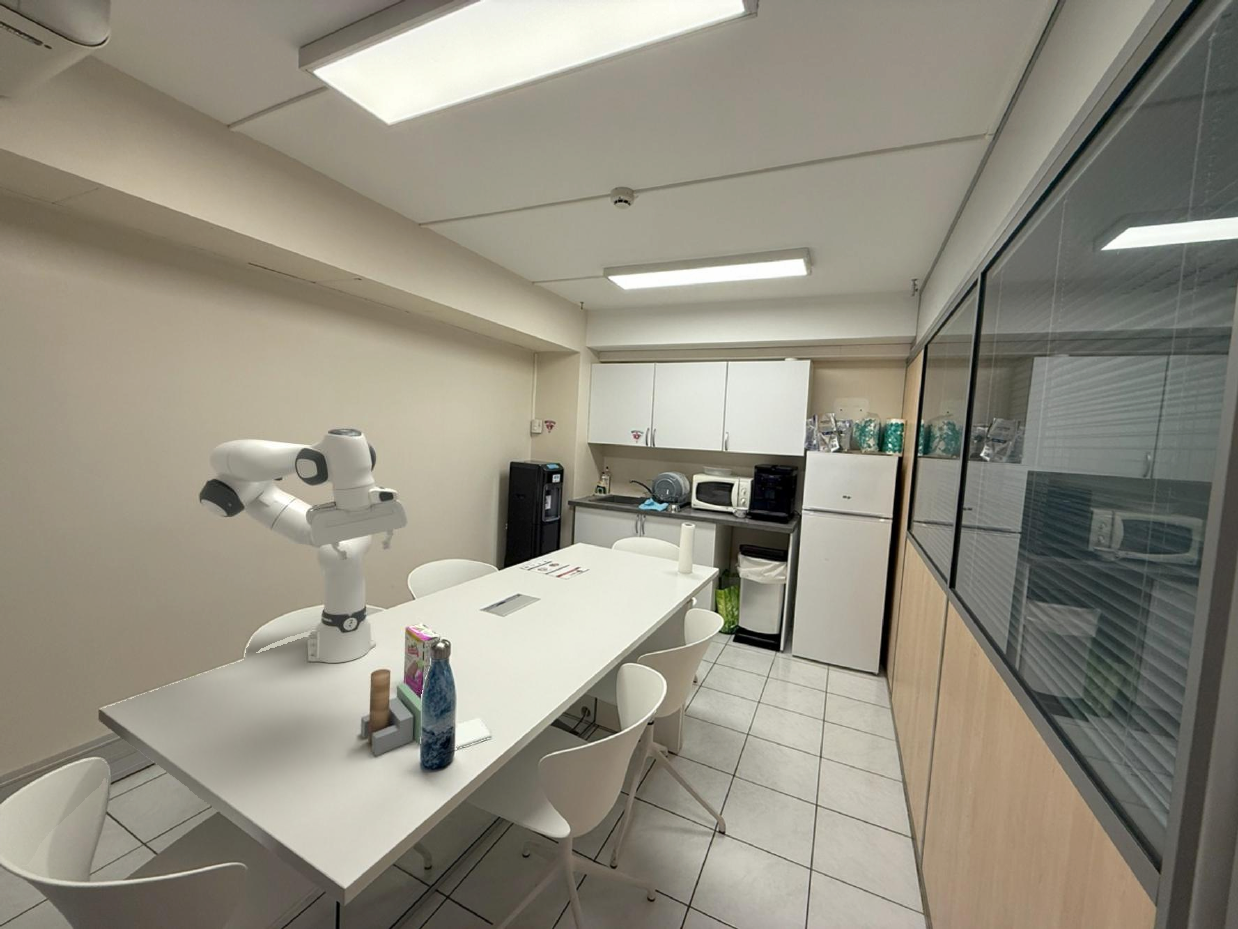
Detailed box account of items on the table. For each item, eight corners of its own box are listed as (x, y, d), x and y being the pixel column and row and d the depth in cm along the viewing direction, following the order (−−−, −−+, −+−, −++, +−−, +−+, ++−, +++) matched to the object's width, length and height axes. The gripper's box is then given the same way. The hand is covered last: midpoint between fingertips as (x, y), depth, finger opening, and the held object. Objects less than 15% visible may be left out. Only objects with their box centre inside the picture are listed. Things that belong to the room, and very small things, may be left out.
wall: (395, 716, 121) (397, 685, 120) (404, 713, 122) (405, 683, 122) (418, 744, 111) (420, 711, 110) (427, 741, 112) (428, 708, 112)
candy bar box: (402, 683, 136) (404, 626, 135) (419, 677, 140) (421, 622, 139) (421, 700, 129) (423, 640, 128) (438, 693, 132) (441, 635, 131)
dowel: (366, 739, 112) (368, 672, 110) (384, 733, 114) (386, 667, 113) (371, 748, 109) (374, 679, 108) (390, 741, 111) (393, 674, 110)
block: (360, 733, 113) (361, 708, 113) (396, 720, 119) (397, 697, 119) (375, 755, 106) (376, 729, 106) (412, 741, 112) (413, 716, 112)
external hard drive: (491, 741, 115) (437, 759, 108) (478, 723, 122) (427, 738, 114) (491, 734, 115) (437, 752, 108) (479, 716, 122) (427, 732, 114)
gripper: (305, 509, 105) (316, 569, 108) (404, 491, 118) (412, 545, 120) (302, 505, 110) (313, 562, 113) (398, 488, 122) (406, 540, 125)
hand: (365, 553), depth 116 cm, fingers open, 8 cm apart
